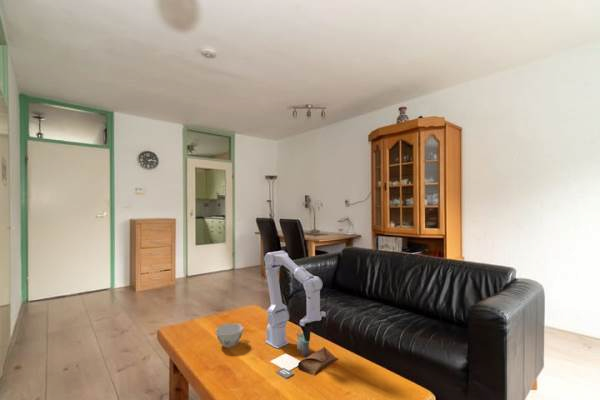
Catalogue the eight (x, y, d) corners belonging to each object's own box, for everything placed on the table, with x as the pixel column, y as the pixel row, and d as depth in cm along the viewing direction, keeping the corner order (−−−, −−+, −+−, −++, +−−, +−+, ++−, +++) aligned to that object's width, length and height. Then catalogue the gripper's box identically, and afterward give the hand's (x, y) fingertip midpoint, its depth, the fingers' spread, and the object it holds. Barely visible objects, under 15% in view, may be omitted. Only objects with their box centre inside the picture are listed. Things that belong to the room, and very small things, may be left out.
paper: (270, 361, 126) (270, 361, 126) (285, 354, 132) (285, 353, 132) (287, 372, 118) (287, 371, 118) (303, 363, 125) (303, 362, 125)
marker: (300, 355, 131) (299, 339, 131) (305, 352, 134) (305, 336, 134) (305, 358, 129) (305, 341, 129) (310, 355, 131) (310, 339, 131)
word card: (276, 372, 118) (276, 371, 118) (283, 368, 121) (283, 367, 121) (286, 378, 114) (286, 377, 114) (293, 374, 116) (293, 373, 116)
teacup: (228, 354, 133) (228, 336, 133) (210, 347, 140) (210, 329, 140) (251, 341, 145) (251, 324, 145) (233, 335, 152) (233, 319, 152)
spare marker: (295, 348, 138) (295, 332, 138) (300, 345, 140) (300, 330, 140) (300, 350, 135) (300, 335, 135) (305, 348, 138) (305, 332, 138)
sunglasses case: (314, 376, 115) (307, 358, 117) (302, 380, 119) (295, 362, 121) (339, 358, 128) (332, 342, 131) (327, 361, 132) (321, 346, 135)
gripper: (308, 312, 120) (308, 346, 119) (331, 304, 130) (331, 335, 130) (296, 308, 125) (296, 340, 124) (318, 300, 135) (318, 330, 135)
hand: (313, 337), depth 127 cm, fingers open, 7 cm apart
